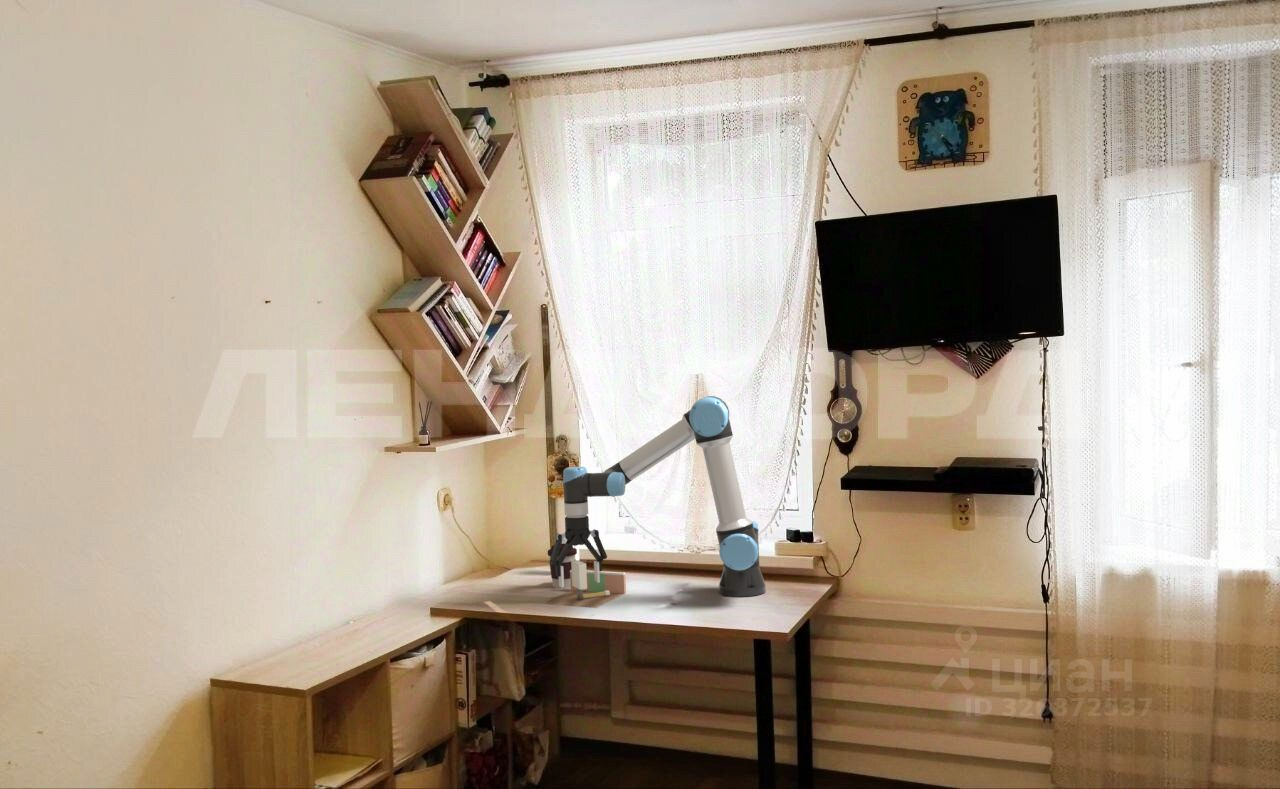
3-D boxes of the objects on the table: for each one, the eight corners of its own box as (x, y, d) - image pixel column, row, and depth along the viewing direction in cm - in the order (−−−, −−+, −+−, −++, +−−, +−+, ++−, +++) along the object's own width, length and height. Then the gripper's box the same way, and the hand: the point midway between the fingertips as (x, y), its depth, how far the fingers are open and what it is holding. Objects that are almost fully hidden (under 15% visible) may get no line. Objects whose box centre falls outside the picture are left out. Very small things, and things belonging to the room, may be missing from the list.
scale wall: (626, 592, 330) (625, 572, 330) (624, 593, 329) (623, 573, 328) (572, 589, 339) (571, 569, 338) (570, 590, 337) (569, 570, 337)
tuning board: (626, 596, 330) (626, 592, 330) (596, 611, 311) (595, 607, 311) (573, 592, 339) (573, 589, 339) (540, 607, 320) (540, 603, 320)
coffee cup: (560, 593, 338) (558, 548, 338) (543, 589, 346) (541, 545, 345) (584, 588, 345) (582, 544, 344) (566, 584, 352) (564, 541, 352)
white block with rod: (580, 602, 319) (578, 564, 319) (572, 598, 326) (571, 560, 325) (613, 597, 324) (611, 560, 323) (605, 593, 330) (603, 556, 330)
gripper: (606, 510, 330) (609, 577, 331) (537, 518, 321) (540, 586, 321) (615, 513, 323) (618, 581, 324) (544, 521, 314) (547, 591, 314)
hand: (579, 584), depth 323 cm, fingers open, 11 cm apart
